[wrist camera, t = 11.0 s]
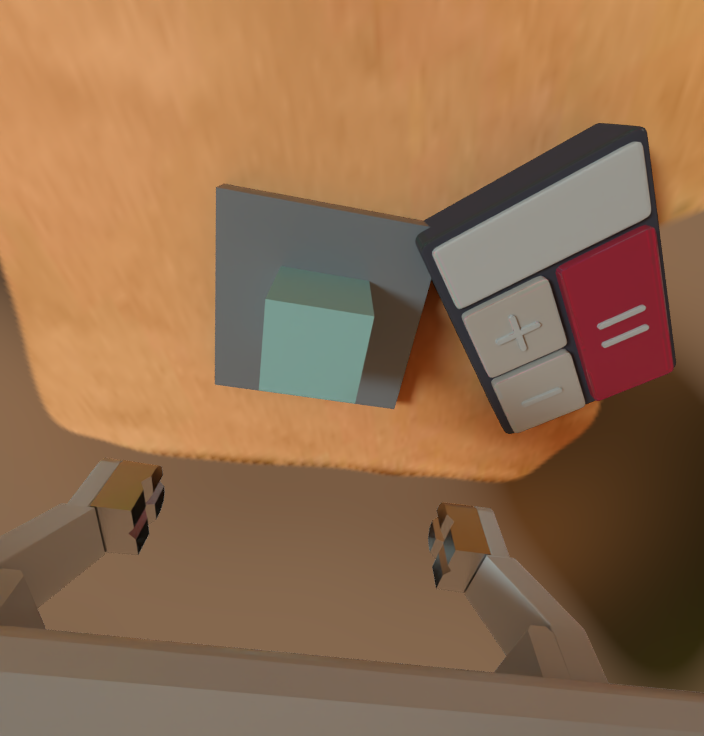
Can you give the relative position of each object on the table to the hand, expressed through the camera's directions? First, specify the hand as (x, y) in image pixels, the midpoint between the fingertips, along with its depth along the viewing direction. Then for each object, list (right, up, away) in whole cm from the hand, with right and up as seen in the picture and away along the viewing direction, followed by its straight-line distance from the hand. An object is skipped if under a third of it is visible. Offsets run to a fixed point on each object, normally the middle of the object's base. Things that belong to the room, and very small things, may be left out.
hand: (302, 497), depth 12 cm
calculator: (+13, +9, +14) cm, 21 cm away
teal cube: (-1, +7, +12) cm, 14 cm away
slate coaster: (-1, +8, +13) cm, 15 cm away
